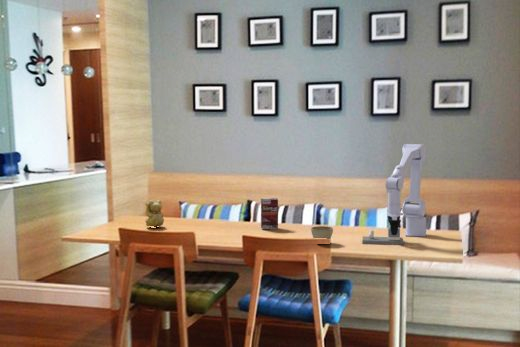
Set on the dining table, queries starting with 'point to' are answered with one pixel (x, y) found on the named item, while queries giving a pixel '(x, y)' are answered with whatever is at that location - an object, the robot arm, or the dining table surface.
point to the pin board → (380, 240)
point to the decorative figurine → (154, 213)
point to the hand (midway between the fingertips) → (393, 233)
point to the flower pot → (322, 232)
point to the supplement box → (269, 213)
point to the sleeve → (393, 237)
